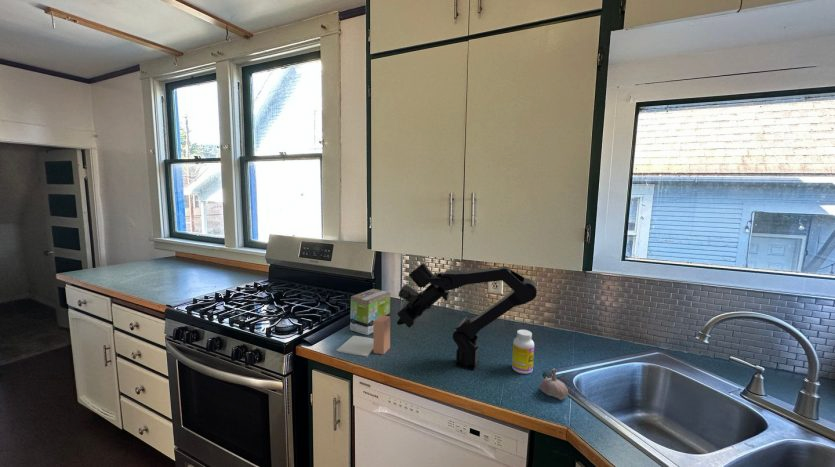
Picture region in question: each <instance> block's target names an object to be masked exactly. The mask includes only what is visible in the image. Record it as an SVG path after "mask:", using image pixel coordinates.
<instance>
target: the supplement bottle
mask: <svg viewBox="0 0 835 467" xmlns="http://www.w3.org/2000/svg"><path fill="white" fill-rule="evenodd" d="M532 338H533V333H532V332H531V331H530V330H527V329H518V330H517V332H516V337H515V338H514V339H513V343H512V359H511V366H512V370H513V371H515V372H516V373H519V374H525V375H527V374H531V373H532V372H533V368H534V357H535V342H534V341H533V339H532Z"/></svg>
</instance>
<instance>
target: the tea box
mask: <svg viewBox="0 0 835 467" xmlns="http://www.w3.org/2000/svg"><path fill="white" fill-rule="evenodd" d="M349 314H350V315H349V316H350V318H349V319H350V322H349V324H350V325H349V326H350V327H349V329H350V331H352V332H356V333H358V334H363V335H366V336H369V335H371V334H372V333H373V321H374V320H375V319H376V318H377V317H379V316H380V315H383V316H390V317H391V315H390V314H391V292H390V291H386V290H381V289H377V288H376V289H375V288H371V289H369V290H365V291H363V292H359V293H357V294H354V295H351V296H350V313H349Z"/></svg>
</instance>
